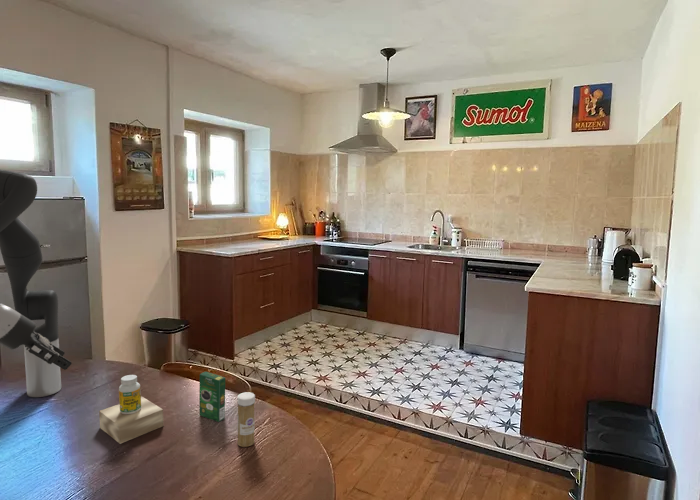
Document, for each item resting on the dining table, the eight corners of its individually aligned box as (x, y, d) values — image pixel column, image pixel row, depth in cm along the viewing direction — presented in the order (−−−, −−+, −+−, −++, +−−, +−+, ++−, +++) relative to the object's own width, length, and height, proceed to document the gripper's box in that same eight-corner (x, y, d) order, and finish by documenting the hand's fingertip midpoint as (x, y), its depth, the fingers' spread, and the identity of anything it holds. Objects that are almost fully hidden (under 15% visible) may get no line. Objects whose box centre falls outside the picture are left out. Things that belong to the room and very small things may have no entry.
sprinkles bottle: (245, 449, 117) (245, 400, 115) (233, 443, 119) (233, 395, 118) (258, 441, 121) (258, 394, 119) (246, 436, 123) (246, 389, 121)
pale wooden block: (99, 427, 125) (99, 410, 124) (142, 412, 134) (141, 396, 134) (120, 443, 118) (119, 426, 117) (163, 426, 127) (163, 409, 126)
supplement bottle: (139, 404, 129) (138, 372, 128) (142, 411, 124) (141, 378, 123) (118, 408, 126) (117, 376, 125) (121, 416, 121) (119, 383, 120)
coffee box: (226, 418, 132) (226, 376, 130) (219, 423, 130) (219, 379, 128) (206, 412, 136) (205, 370, 134) (198, 416, 133) (198, 373, 131)
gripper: (23, 320, 102) (83, 357, 111) (15, 306, 113) (70, 341, 122) (-5, 347, 99) (59, 383, 109) (-10, 330, 110) (48, 364, 119)
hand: (65, 360), depth 115 cm, fingers open, 8 cm apart
